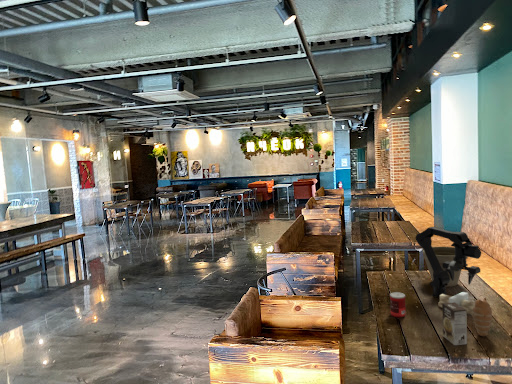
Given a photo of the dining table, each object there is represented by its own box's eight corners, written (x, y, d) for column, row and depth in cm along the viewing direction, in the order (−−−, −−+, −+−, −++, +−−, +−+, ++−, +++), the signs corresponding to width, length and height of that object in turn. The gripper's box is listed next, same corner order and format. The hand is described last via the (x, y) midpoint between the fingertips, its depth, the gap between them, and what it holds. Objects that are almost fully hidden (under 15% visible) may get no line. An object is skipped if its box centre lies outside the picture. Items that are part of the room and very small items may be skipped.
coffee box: (442, 336, 181) (441, 302, 179) (455, 335, 181) (454, 301, 180) (453, 345, 171) (453, 310, 170) (467, 344, 172) (467, 309, 171)
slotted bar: (454, 314, 203) (454, 299, 203) (449, 312, 206) (448, 298, 205) (468, 307, 211) (468, 293, 211) (462, 305, 214) (462, 291, 213)
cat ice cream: (486, 341, 173) (485, 302, 171) (468, 335, 180) (468, 298, 178) (496, 336, 178) (496, 298, 176) (479, 330, 184) (478, 293, 183)
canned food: (405, 312, 210) (404, 292, 209) (406, 318, 203) (405, 297, 202) (390, 311, 213) (389, 291, 212) (390, 317, 205) (389, 296, 204)
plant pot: (419, 286, 248) (418, 253, 246) (427, 275, 268) (426, 244, 267) (463, 292, 234) (463, 256, 232) (468, 280, 254) (468, 247, 252)
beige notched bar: (438, 306, 215) (438, 295, 215) (444, 303, 218) (443, 293, 218) (475, 317, 199) (475, 305, 198) (481, 314, 202) (481, 302, 201)
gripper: (436, 255, 218) (437, 282, 219) (470, 261, 203) (470, 289, 204) (447, 251, 224) (447, 277, 226) (480, 256, 209) (481, 285, 210)
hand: (460, 282), depth 216 cm, fingers open, 9 cm apart
